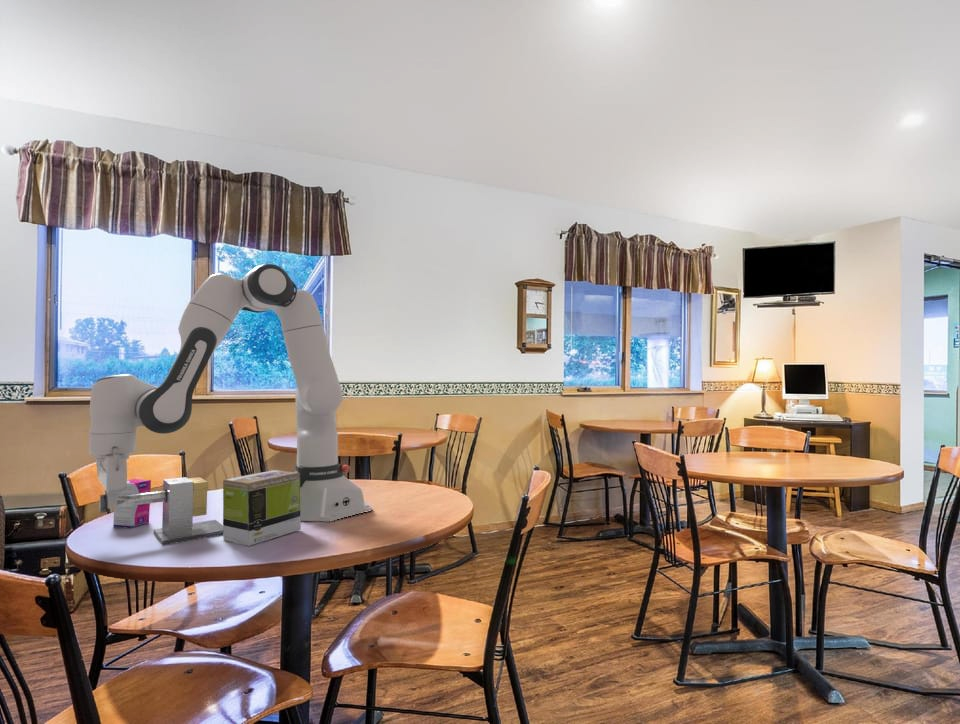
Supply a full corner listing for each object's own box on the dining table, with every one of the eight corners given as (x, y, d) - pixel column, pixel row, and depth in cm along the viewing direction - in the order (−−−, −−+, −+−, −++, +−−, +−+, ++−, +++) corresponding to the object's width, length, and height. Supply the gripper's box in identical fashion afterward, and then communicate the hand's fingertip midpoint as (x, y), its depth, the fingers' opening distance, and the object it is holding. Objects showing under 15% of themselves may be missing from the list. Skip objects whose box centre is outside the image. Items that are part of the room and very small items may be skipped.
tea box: (275, 525, 136) (276, 468, 136) (301, 531, 131) (302, 472, 131) (221, 540, 123) (222, 477, 123) (247, 547, 118) (249, 482, 118)
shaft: (193, 499, 131) (193, 483, 131) (197, 501, 127) (197, 485, 128) (99, 511, 118) (99, 493, 118) (100, 514, 115) (101, 496, 115)
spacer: (198, 508, 133) (199, 477, 133) (206, 514, 127) (207, 481, 127) (185, 510, 131) (186, 478, 131) (192, 516, 125) (193, 483, 125)
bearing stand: (215, 523, 137) (216, 472, 138) (228, 533, 128) (229, 479, 129) (153, 533, 128) (154, 479, 129) (162, 545, 119) (163, 486, 120)
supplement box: (131, 528, 133) (133, 483, 133) (112, 527, 134) (113, 482, 134) (150, 522, 138) (151, 479, 139) (131, 521, 140) (132, 478, 140)
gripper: (135, 448, 113) (134, 512, 112) (123, 440, 128) (122, 496, 128) (99, 450, 109) (98, 517, 108) (92, 442, 124) (90, 500, 124)
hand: (111, 506), depth 118 cm, fingers closed on shaft, 2 cm apart
